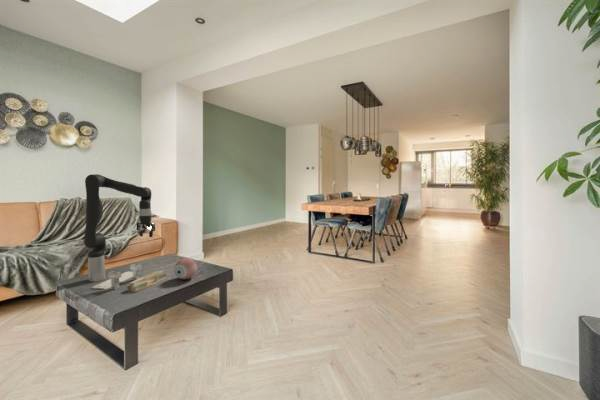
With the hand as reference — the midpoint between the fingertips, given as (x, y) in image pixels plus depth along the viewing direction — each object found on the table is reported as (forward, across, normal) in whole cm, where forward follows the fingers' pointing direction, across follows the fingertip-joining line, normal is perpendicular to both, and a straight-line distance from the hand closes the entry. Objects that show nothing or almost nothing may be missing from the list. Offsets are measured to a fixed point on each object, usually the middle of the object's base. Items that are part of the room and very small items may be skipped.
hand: (146, 236), depth 191 cm
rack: (+30, +11, -11) cm, 34 cm away
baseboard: (+31, -14, -11) cm, 36 cm away
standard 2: (+30, -3, -7) cm, 31 cm away
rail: (+30, +11, -11) cm, 33 cm away
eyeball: (+30, +30, +4) cm, 43 cm away
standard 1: (+30, -3, -23) cm, 38 cm away
